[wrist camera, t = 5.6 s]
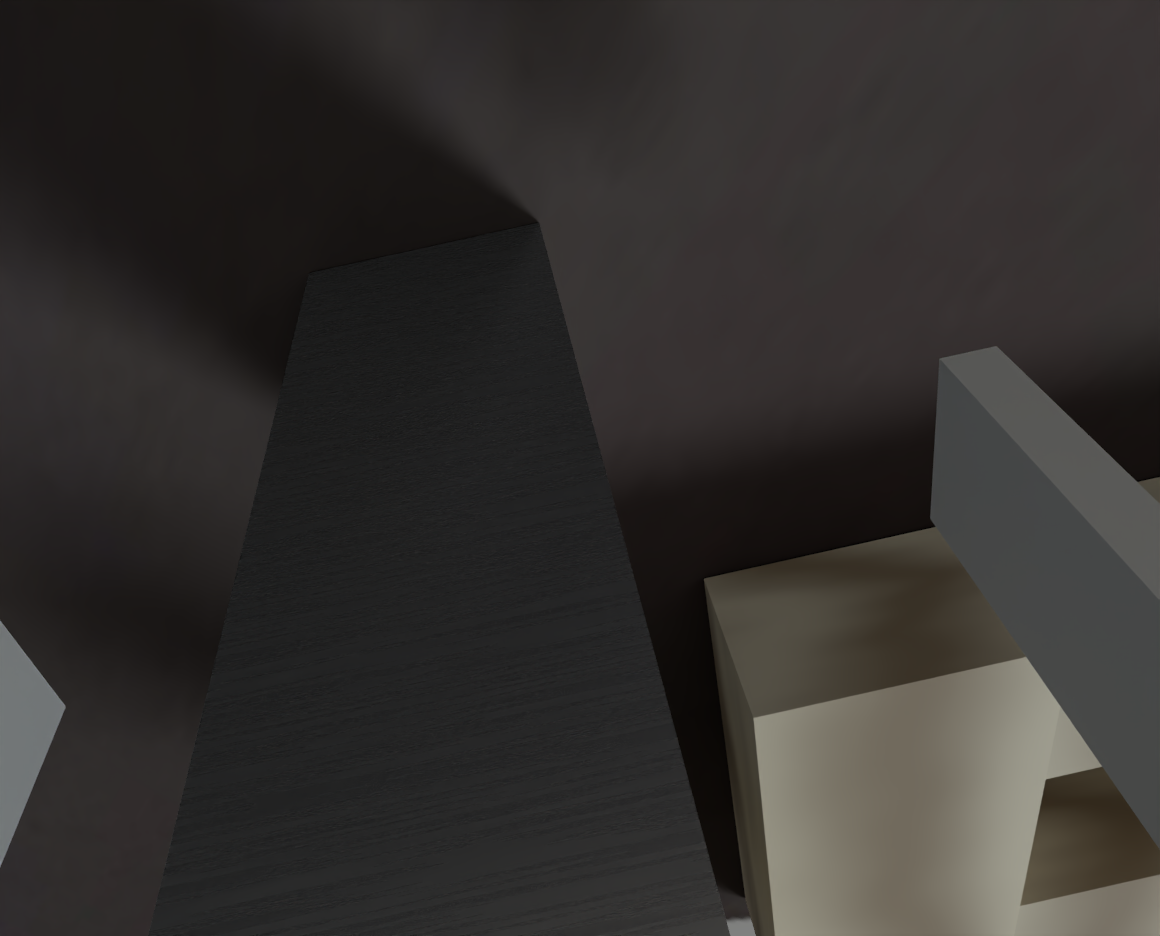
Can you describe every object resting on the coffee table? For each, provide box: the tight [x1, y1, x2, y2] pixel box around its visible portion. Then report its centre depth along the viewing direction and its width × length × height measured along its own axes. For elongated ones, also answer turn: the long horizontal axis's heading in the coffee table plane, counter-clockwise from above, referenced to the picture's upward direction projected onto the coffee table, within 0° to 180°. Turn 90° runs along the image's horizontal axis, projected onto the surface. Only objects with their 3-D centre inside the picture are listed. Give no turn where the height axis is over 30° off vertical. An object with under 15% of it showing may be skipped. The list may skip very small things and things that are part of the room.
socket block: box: [704, 477, 1160, 936], centre depth 24 cm, size 18×14×4 cm
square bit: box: [148, 223, 730, 936], centre depth 12 cm, size 4×4×14 cm
